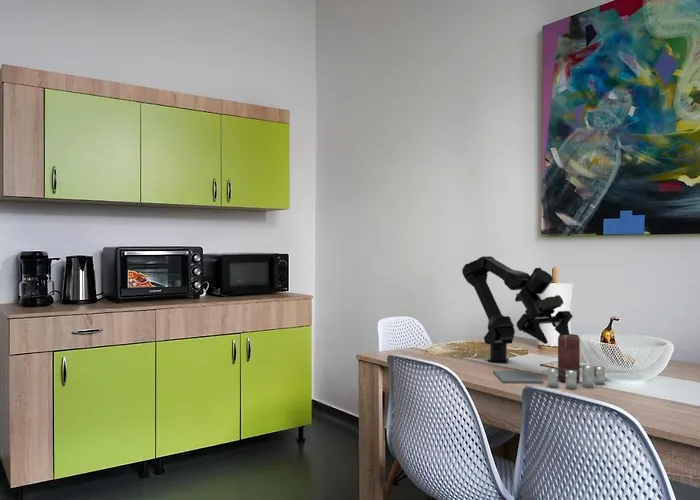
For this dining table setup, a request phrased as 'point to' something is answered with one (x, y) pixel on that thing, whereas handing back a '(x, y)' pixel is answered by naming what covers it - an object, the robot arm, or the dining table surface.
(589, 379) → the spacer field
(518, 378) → the mat
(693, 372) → the dining table surface
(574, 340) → the can
